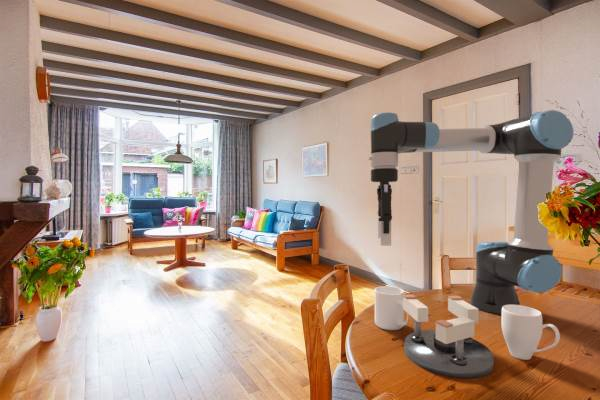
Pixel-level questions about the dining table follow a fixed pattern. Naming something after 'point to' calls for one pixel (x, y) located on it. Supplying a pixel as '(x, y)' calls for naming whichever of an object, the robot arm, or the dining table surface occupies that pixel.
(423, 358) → the base
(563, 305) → the dining table surface
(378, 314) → the mug
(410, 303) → the handle
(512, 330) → the mug
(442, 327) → the knob
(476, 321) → the handle
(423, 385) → the dining table surface
